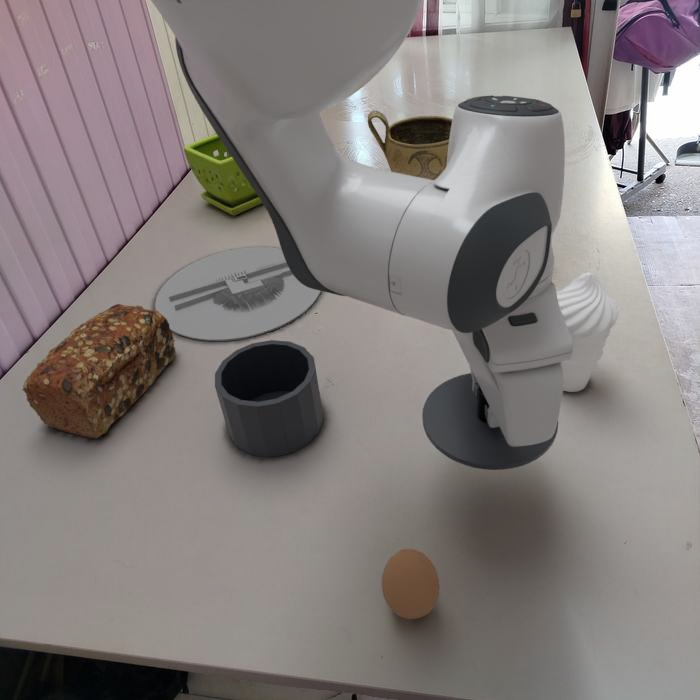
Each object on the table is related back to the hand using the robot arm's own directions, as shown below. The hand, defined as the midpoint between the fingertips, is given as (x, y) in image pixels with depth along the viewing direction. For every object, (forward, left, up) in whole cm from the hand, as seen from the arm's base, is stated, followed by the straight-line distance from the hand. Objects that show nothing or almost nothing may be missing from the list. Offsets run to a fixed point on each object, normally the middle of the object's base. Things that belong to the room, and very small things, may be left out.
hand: (489, 408), depth 63 cm
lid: (0, 0, -2) cm, 2 cm away
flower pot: (+84, +25, -12) cm, 88 cm away
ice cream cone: (+14, -16, -12) cm, 24 cm away
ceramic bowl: (+81, -14, -12) cm, 83 cm away
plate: (+49, +26, -12) cm, 57 cm away
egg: (-12, +11, -12) cm, 20 cm away
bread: (+28, +44, -12) cm, 54 cm away
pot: (+16, +22, -12) cm, 30 cm away
